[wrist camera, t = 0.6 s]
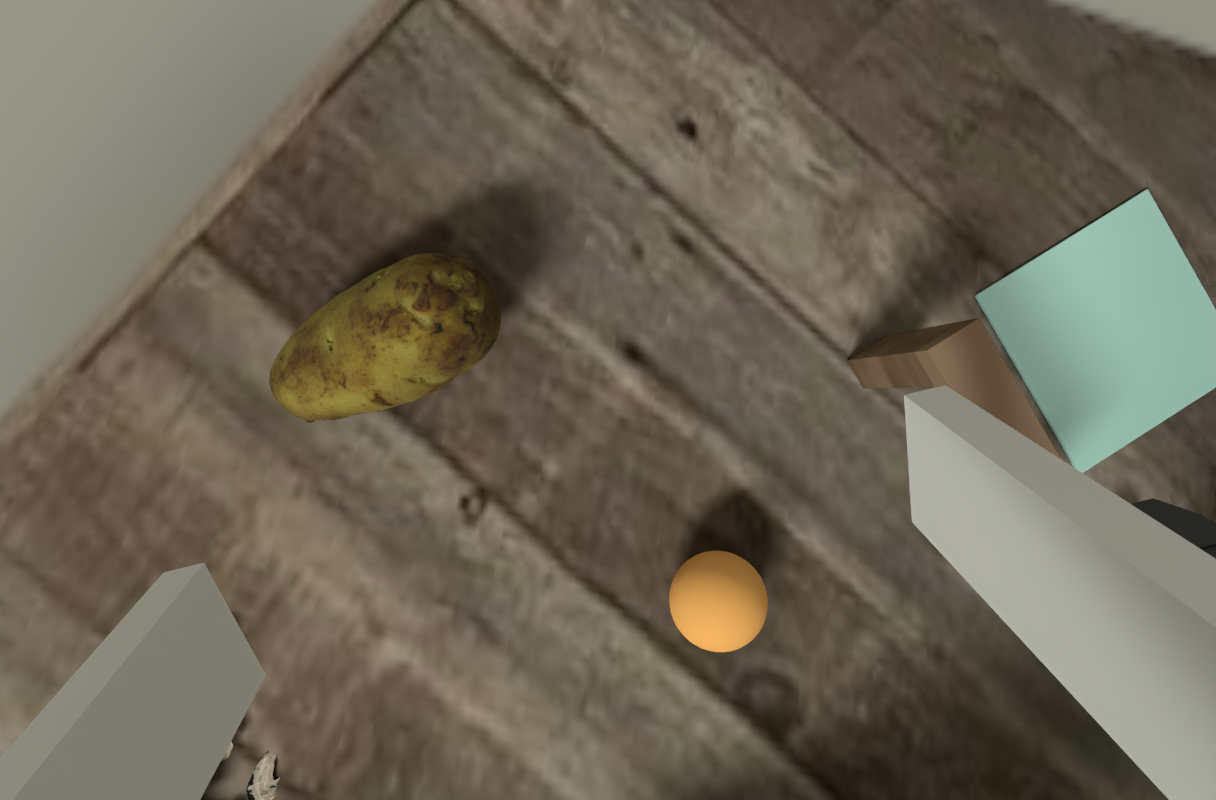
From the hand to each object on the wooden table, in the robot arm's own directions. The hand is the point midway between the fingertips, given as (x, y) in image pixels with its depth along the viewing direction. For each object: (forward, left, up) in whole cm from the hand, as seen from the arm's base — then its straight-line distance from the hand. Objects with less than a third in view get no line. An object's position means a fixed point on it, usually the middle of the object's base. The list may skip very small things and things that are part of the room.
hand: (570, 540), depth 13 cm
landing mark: (-12, -33, -28) cm, 44 cm away
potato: (+10, +5, -28) cm, 30 cm away
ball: (-12, -3, -25) cm, 28 cm away
